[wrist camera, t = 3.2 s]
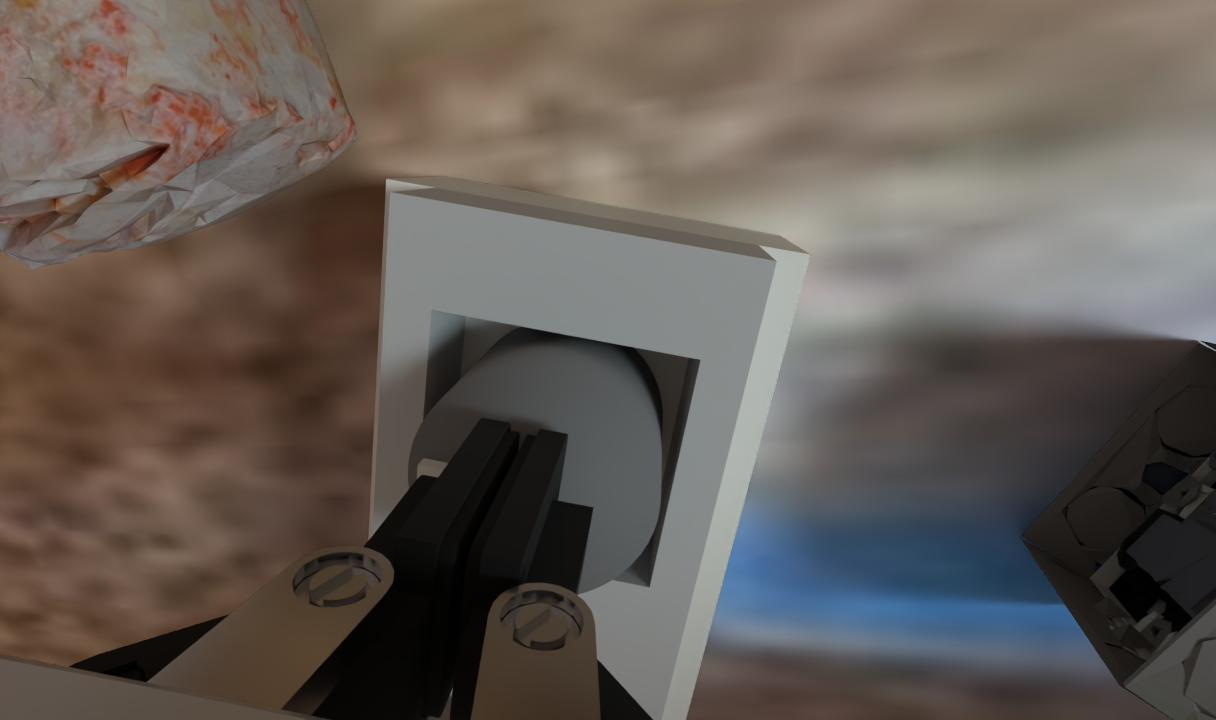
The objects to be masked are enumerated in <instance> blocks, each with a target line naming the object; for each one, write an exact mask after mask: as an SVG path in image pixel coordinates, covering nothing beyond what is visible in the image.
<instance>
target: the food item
mask: <svg viewBox="0 0 1216 720" xmlns="http://www.w3.org/2000/svg"><path fill="white" fill-rule="evenodd" d="M354 125H355V123H354V121H353V119H352V117H351V116H350V113H349V111H348V108H347V105H346V102H345V100H344V97H343V94H342V91H341V88H340V85H339V82H338V80H337V77H336V74H335V72H334V69H333V66H332V64H331V61H330V58H329V55H328V53H327V50H326V47H325V45H324V42H323V39H322V37H321V34H320V31H319V29H318V26H317V24H316V22H315V20H314V18H313V16H312V13H311V11H310V9H309V7H308V5H307V3H306V0H0V250H1V251H3V252H4V253H6V254H8V255H10V256H11V257H13V258H15V259H17V260H18V261H20V262H22V263H23V264H25V265H27V266H28V267H29V268H30V269H31V270H33V269H36V268H38V267H41V266H45V265H51V264H57V263H63V262H65V261H66V260H72V259H74V258H76V257H79V256H81V255H83V254H86V253H93V252H110V251H113V250H122V249H135V248H138V247H142V246H145V245H150V244H157V243H162V242H165V241H168V240H170V239H173V238H176V237H179V236H181V235H184V234H187V233H189V232H192V231H195V230H198V229H201V228H204V227H207V226H210V225H213V224H216V223H219V222H222V221H225V220H227V219H229V218H231V217H233V216H235V215H237V214H239V213H241V212H243V211H245V210H248V209H250V208H252V207H254V206H256V205H258V204H260V203H262V202H264V201H266V200H268V199H270V198H272V197H273V196H275V195H276V194H277V193H279V192H280V191H282V190H284V189H286V188H288V187H289V186H291V185H293V184H295V183H296V182H298V181H300V180H302V179H303V178H305V177H307V176H309V175H311V174H313V173H315V172H317V171H319V170H321V169H323V168H324V167H325V166H326V165H328V164H329V163H330V162H331V161H333V160H334V159H335V158H336V157H337V156H339V155H340V154H341V153H342V152H343V151H344V150H346V149H347V148H348V147H349V146H350V145H351V144H352V143H353V142H355V141H356V140H357V139H358V138H357V134H356V130H355V126H354Z"/></svg>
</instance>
